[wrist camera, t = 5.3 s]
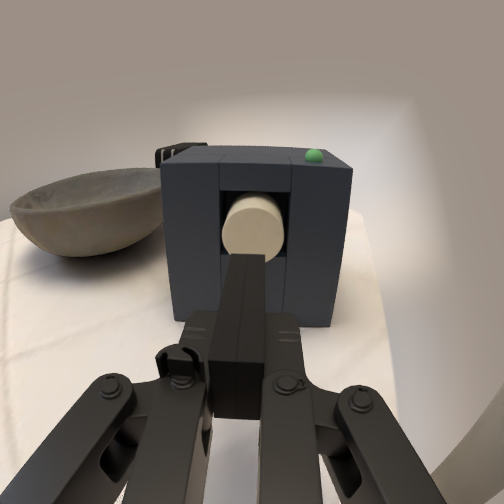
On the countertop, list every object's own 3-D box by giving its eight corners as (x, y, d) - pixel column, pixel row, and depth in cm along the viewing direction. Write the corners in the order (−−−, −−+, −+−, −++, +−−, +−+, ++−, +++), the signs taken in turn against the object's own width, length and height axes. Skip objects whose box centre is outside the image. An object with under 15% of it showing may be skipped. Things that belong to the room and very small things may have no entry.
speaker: (197, 264, 33) (192, 137, 27) (314, 268, 32) (326, 140, 27) (174, 320, 24) (158, 150, 18) (330, 327, 24) (354, 155, 18)
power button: (229, 239, 23) (228, 190, 21) (280, 241, 23) (282, 192, 21) (222, 263, 19) (221, 206, 18) (282, 265, 19) (285, 208, 18)
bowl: (21, 308, 23) (-3, 227, 20) (26, 237, 39) (16, 186, 35) (213, 254, 35) (211, 181, 31) (150, 208, 50) (146, 159, 47)
